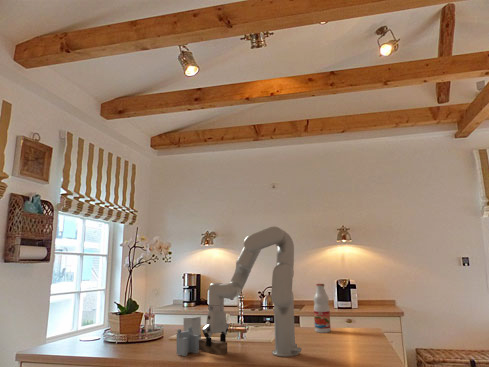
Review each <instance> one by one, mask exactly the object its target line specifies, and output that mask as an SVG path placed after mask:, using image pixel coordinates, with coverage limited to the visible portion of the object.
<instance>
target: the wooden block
mask: <svg viewBox="0 0 489 367" xmlns="http://www.w3.org/2000/svg"><path fill="white" fill-rule="evenodd" d="M199 352H206V353H210V354H215V355H219V356H220V355H221V356H223V355H227V354H228V342H221V341H220V340H215V339H211V347H209V346H206V338H201V340H199Z"/></svg>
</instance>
